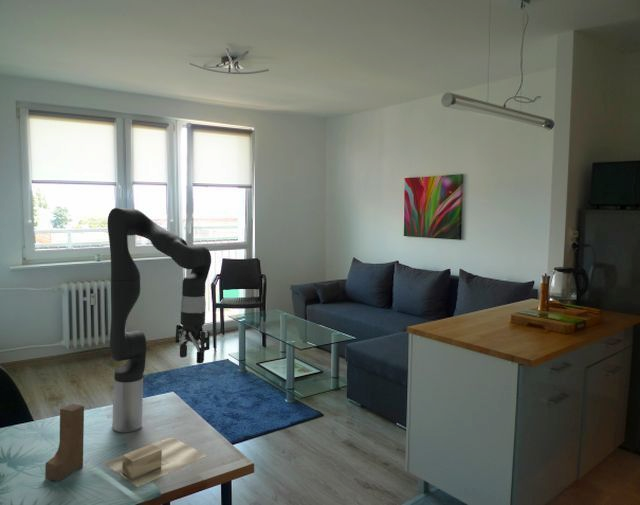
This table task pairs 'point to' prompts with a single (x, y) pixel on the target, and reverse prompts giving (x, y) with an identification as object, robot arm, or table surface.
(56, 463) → the wooden block
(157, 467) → the block
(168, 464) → the board
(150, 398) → the table surface
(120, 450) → the table surface
